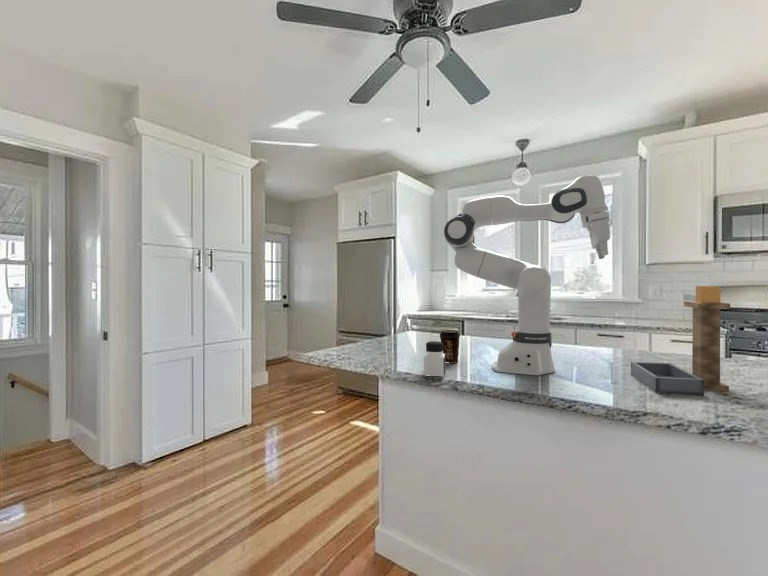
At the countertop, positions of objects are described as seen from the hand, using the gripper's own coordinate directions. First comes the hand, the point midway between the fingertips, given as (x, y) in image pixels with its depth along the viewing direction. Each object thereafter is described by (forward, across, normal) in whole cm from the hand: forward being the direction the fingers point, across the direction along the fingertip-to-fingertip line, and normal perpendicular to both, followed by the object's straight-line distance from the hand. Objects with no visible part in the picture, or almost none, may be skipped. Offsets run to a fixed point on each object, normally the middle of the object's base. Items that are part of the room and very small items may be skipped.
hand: (603, 257), depth 138 cm
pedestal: (+46, +6, +19) cm, 50 cm away
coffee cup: (+31, -4, -62) cm, 70 cm away
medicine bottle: (+33, +18, -63) cm, 73 cm away
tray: (+44, +7, +8) cm, 45 cm away
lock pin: (+20, +3, +23) cm, 30 cm away
